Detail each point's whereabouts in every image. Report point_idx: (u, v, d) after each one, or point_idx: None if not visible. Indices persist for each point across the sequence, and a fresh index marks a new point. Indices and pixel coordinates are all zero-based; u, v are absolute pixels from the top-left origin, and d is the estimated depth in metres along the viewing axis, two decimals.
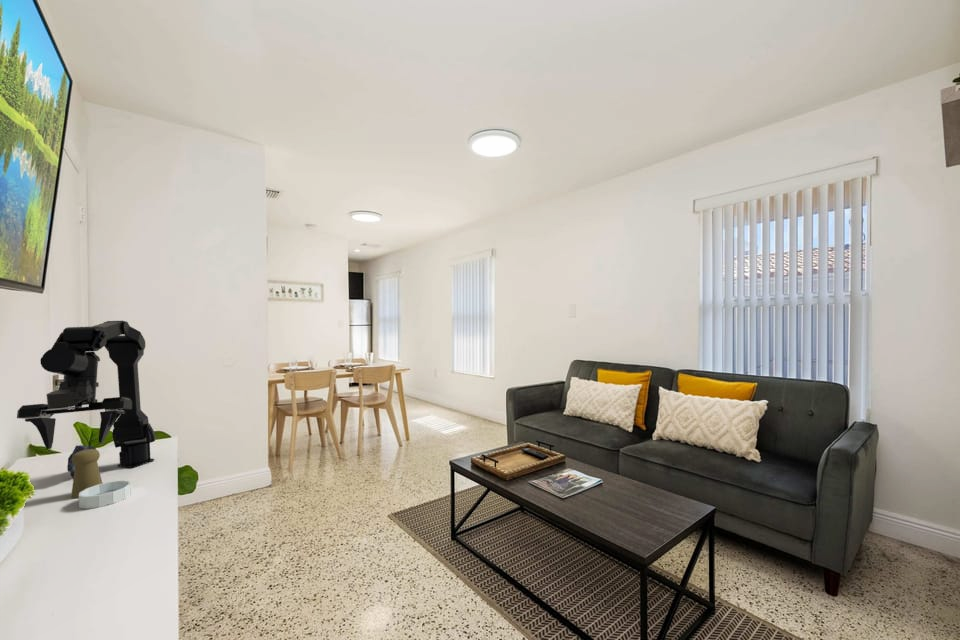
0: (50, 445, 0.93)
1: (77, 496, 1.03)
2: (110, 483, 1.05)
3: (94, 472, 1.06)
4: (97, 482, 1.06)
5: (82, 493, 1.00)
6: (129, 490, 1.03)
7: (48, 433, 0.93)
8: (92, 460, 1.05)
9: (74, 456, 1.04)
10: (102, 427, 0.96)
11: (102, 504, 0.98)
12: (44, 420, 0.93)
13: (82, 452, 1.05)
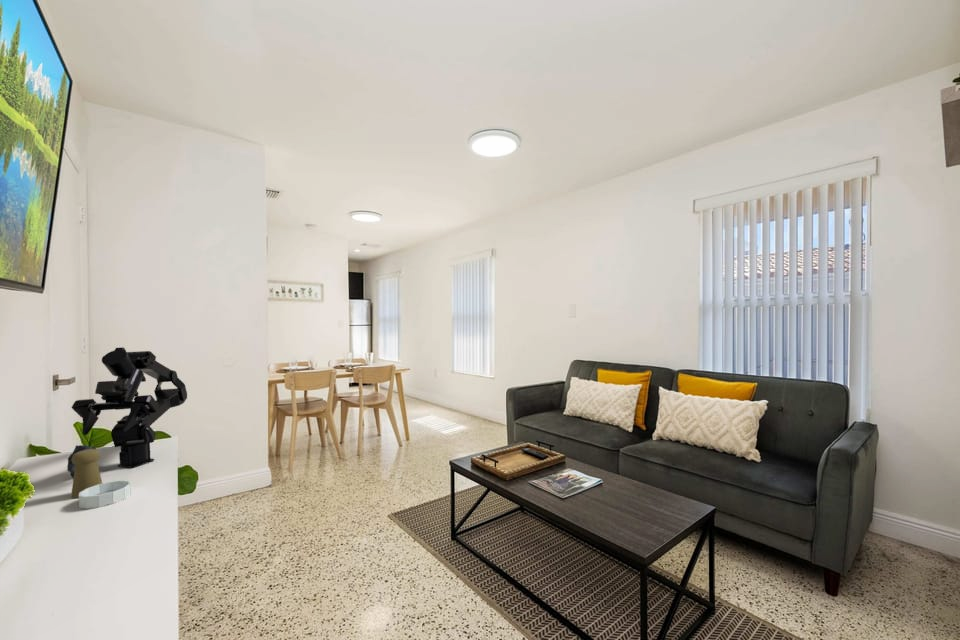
0: (86, 432, 1.13)
1: (77, 496, 1.03)
2: (110, 483, 1.05)
3: (94, 472, 1.06)
4: (97, 483, 1.06)
5: (82, 493, 1.00)
6: (129, 490, 1.03)
7: (88, 422, 1.14)
8: (92, 460, 1.05)
9: (74, 456, 1.04)
10: (129, 417, 1.16)
11: (102, 504, 0.98)
12: (89, 411, 1.15)
13: (82, 452, 1.05)
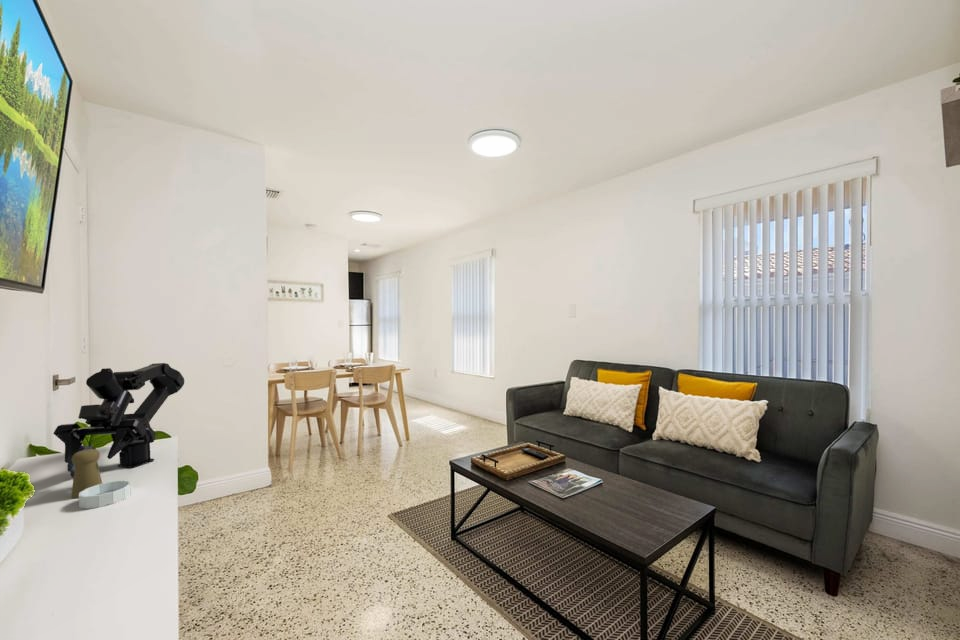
0: (69, 459, 1.06)
1: (77, 496, 1.03)
2: (110, 483, 1.05)
3: (94, 472, 1.06)
4: (97, 482, 1.06)
5: (82, 493, 1.00)
6: (129, 490, 1.03)
7: (71, 448, 1.07)
8: (92, 460, 1.05)
9: (74, 456, 1.04)
10: (114, 443, 1.09)
11: (102, 504, 0.98)
12: (72, 436, 1.08)
13: (82, 452, 1.05)
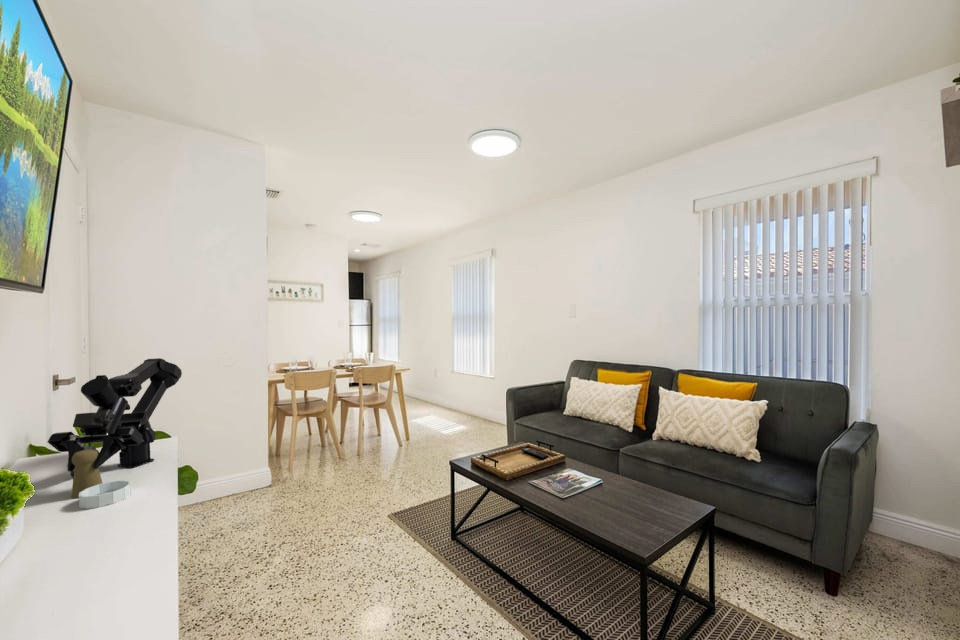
0: (72, 467, 1.05)
1: (77, 496, 1.03)
2: (110, 483, 1.05)
3: (94, 472, 1.06)
4: (97, 482, 1.06)
5: (82, 493, 1.00)
6: (129, 490, 1.03)
7: None
8: (92, 460, 1.05)
9: (74, 456, 1.04)
10: (101, 453, 1.07)
11: (102, 504, 0.98)
12: (76, 444, 1.07)
13: (82, 452, 1.05)
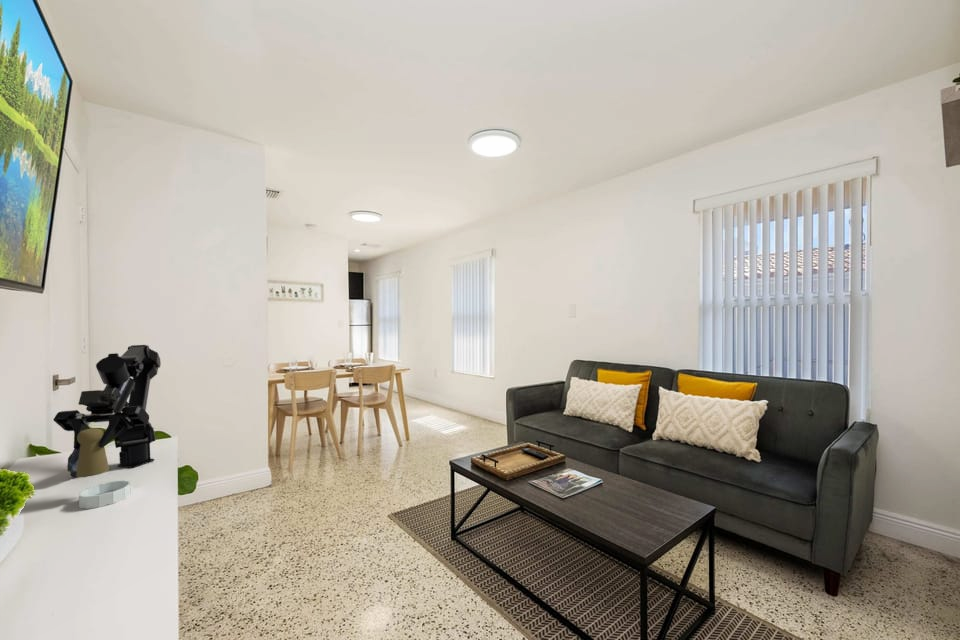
0: (78, 446, 1.02)
1: (82, 475, 1.01)
2: (110, 483, 1.05)
3: (99, 452, 1.03)
4: (102, 462, 1.03)
5: (82, 493, 1.00)
6: (129, 490, 1.03)
7: None
8: (98, 438, 1.03)
9: (80, 434, 1.01)
10: (107, 431, 1.04)
11: (102, 504, 0.98)
12: (82, 423, 1.05)
13: (88, 430, 1.02)
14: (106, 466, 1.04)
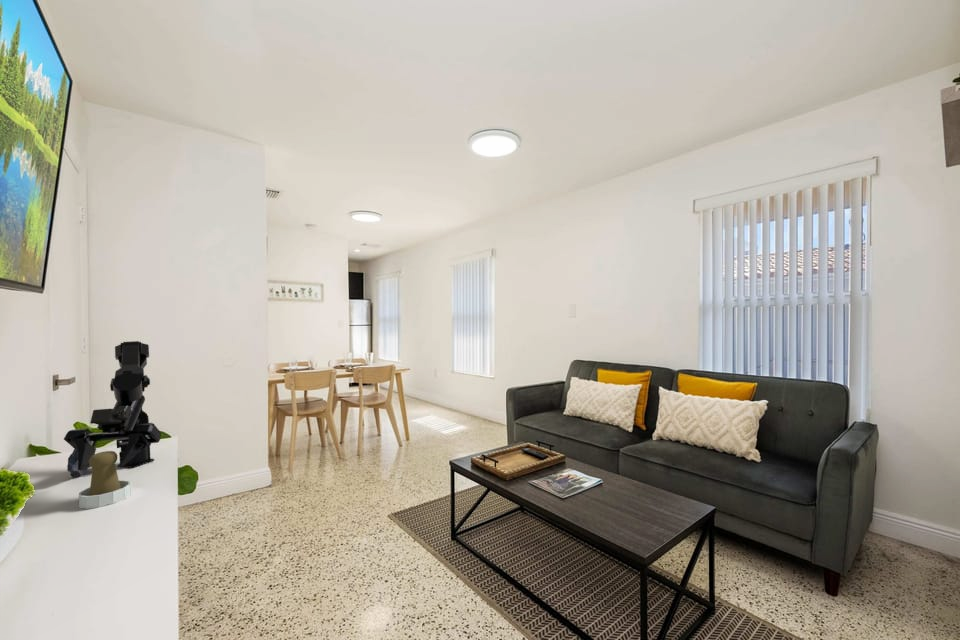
0: (82, 466, 1.00)
1: None
2: None
3: (112, 475, 1.01)
4: (115, 486, 1.02)
5: (82, 493, 1.00)
6: (129, 490, 1.03)
7: (84, 455, 1.01)
8: (110, 462, 1.01)
9: (91, 458, 0.99)
10: (126, 450, 1.03)
11: (102, 504, 0.98)
12: (86, 442, 1.02)
13: (100, 454, 1.00)
14: None
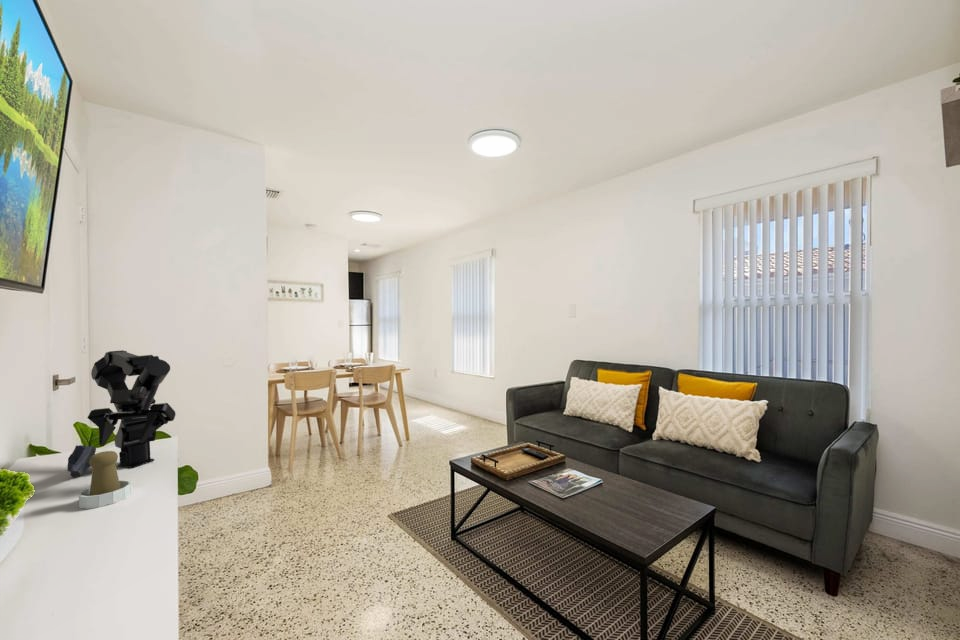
0: (103, 442, 1.09)
1: None
2: None
3: (112, 475, 1.01)
4: (115, 486, 1.02)
5: (82, 493, 1.00)
6: (129, 490, 1.03)
7: (105, 432, 1.10)
8: (110, 462, 1.01)
9: (92, 458, 0.99)
10: (145, 427, 1.11)
11: (102, 504, 0.98)
12: (105, 421, 1.11)
13: (100, 454, 1.00)
14: None
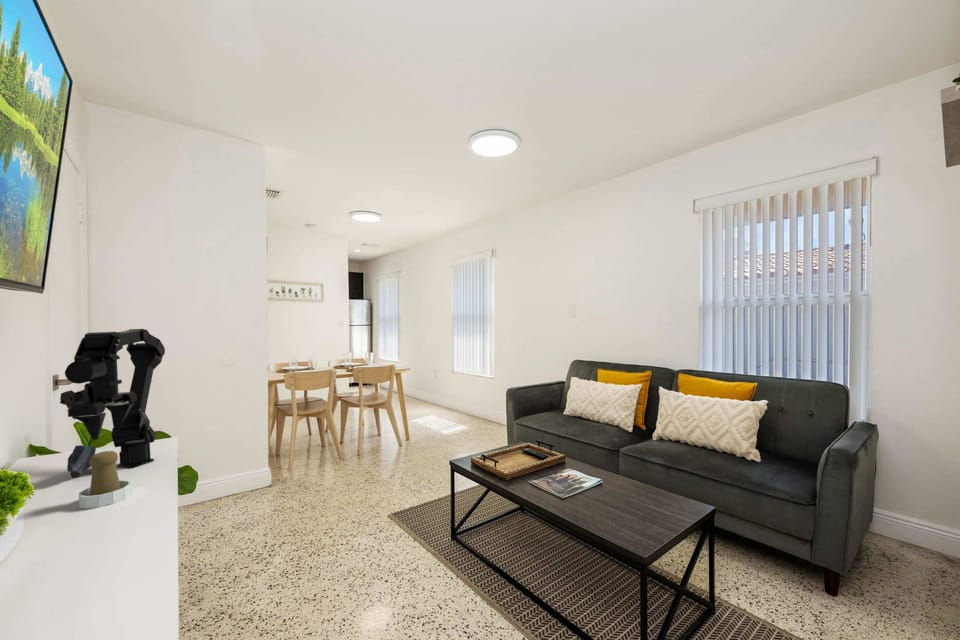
0: (116, 427, 1.17)
1: None
2: None
3: (112, 475, 1.01)
4: (115, 486, 1.02)
5: (82, 493, 1.00)
6: (129, 490, 1.03)
7: (114, 418, 1.17)
8: (110, 462, 1.01)
9: (92, 458, 0.99)
10: None
11: (102, 504, 0.98)
12: (110, 408, 1.17)
13: (100, 454, 1.00)
14: None
